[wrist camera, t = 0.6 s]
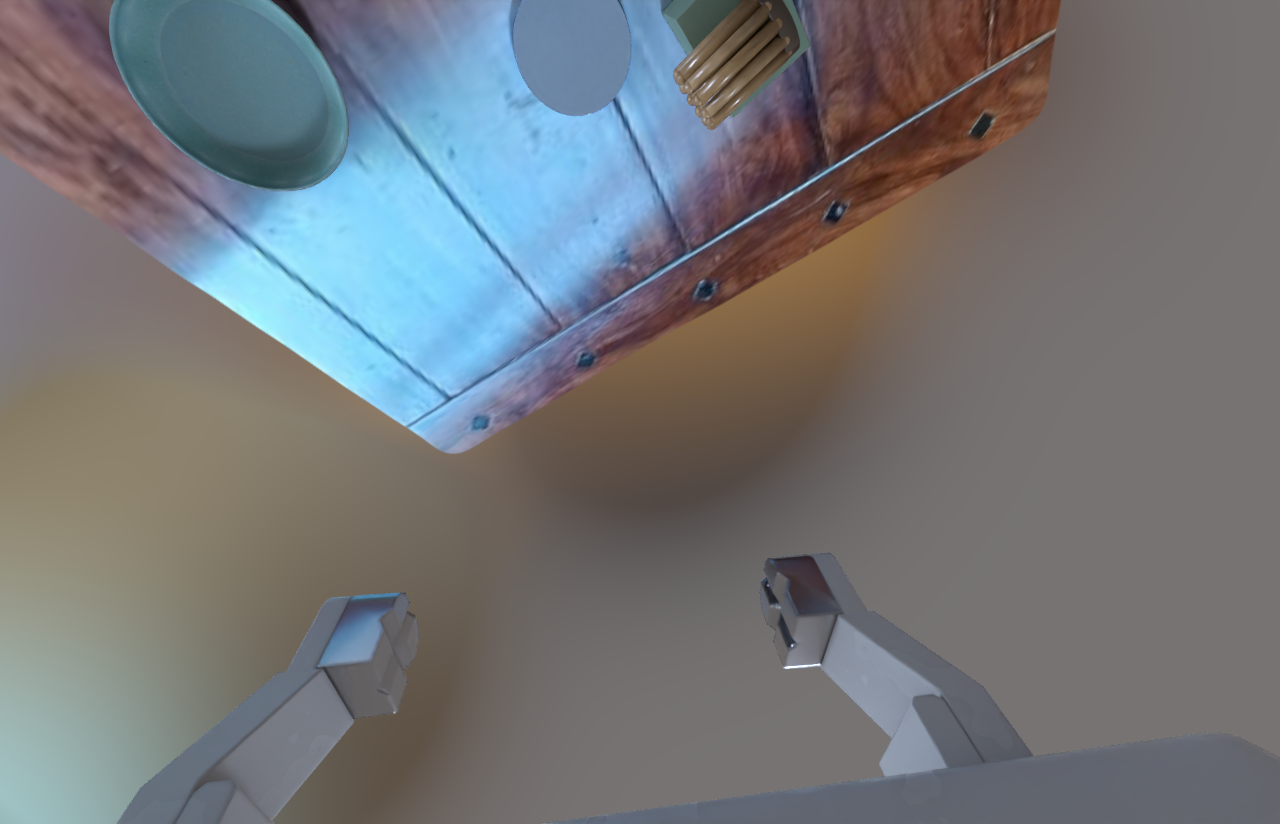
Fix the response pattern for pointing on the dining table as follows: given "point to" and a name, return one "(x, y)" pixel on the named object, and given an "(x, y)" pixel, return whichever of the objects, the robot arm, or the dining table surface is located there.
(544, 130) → the dining table surface
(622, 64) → the disc
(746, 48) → the bundle of brown rods
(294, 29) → the saucer
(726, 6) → the step
